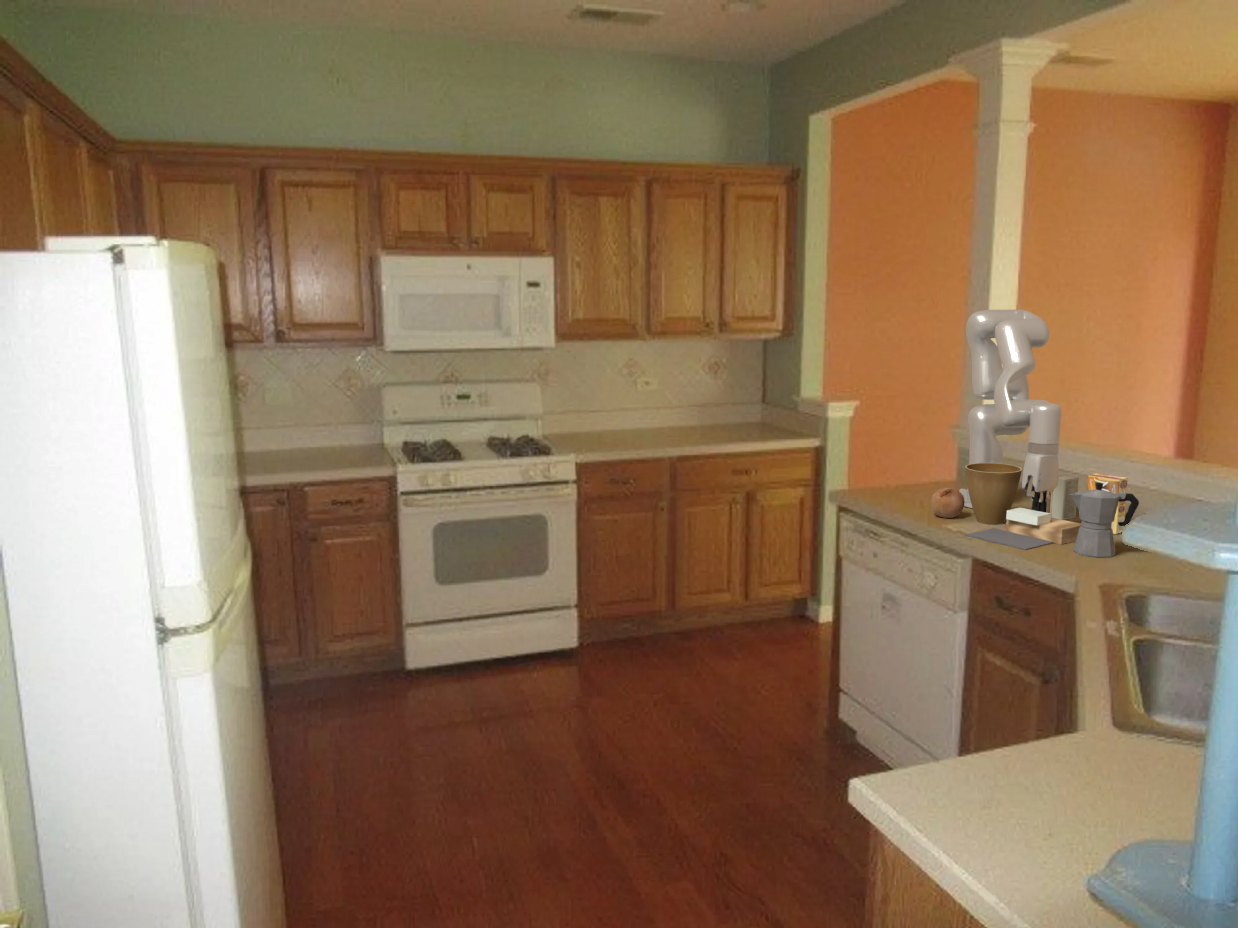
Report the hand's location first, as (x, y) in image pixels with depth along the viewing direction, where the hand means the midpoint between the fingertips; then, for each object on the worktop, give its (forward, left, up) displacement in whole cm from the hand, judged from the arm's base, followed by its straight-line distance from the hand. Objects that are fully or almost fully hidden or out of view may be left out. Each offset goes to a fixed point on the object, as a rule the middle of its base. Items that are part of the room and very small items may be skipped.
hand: (1038, 515), depth 241 cm
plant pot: (-15, +1, -5) cm, 16 cm away
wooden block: (+3, -1, -5) cm, 6 cm away
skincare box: (-6, +22, -5) cm, 23 cm away
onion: (-26, -4, -5) cm, 27 cm away
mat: (0, -12, -5) cm, 13 cm away
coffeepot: (+21, -7, -5) cm, 22 cm away
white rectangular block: (0, -5, -1) cm, 5 cm away
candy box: (+9, +17, -5) cm, 19 cm away
